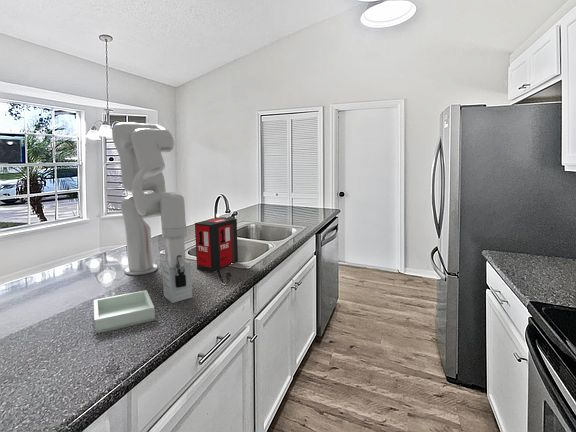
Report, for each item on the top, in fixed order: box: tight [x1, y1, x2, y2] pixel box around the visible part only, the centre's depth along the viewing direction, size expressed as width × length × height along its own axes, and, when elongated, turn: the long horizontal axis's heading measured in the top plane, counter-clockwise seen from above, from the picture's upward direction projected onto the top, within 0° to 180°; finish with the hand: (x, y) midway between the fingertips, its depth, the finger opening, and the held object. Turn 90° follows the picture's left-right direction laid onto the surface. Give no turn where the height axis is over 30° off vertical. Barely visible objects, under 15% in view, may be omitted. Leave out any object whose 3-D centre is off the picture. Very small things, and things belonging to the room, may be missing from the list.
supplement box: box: [161, 259, 193, 304], centre depth 112 cm, size 7×7×13 cm
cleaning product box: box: [194, 216, 239, 273], centre depth 145 cm, size 16×9×20 cm, turn 150°
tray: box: [93, 289, 156, 334], centre depth 99 cm, size 15×15×4 cm
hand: (177, 282), depth 112 cm, fingers open, 9 cm apart
